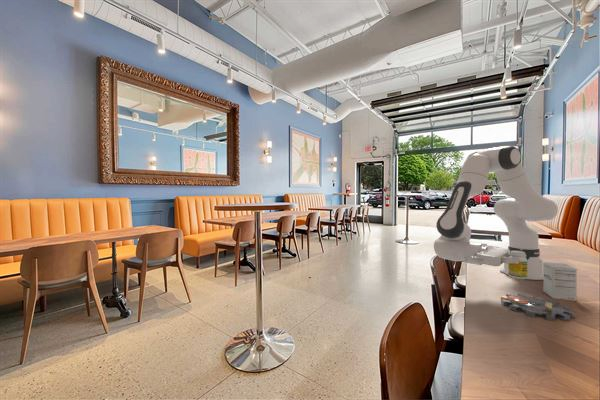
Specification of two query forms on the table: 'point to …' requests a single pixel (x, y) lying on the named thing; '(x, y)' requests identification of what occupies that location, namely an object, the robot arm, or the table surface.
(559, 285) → the supplement box
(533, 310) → the sprocket wheel
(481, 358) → the table surface
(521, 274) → the supplement bottle
